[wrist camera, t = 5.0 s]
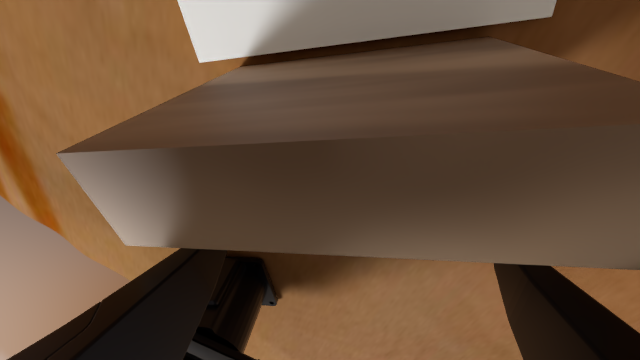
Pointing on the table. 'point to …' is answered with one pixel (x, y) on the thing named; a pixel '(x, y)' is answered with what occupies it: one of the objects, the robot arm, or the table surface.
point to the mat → (335, 21)
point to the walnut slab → (384, 160)
